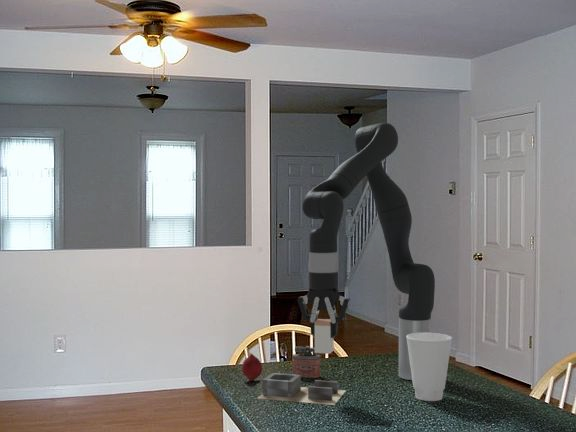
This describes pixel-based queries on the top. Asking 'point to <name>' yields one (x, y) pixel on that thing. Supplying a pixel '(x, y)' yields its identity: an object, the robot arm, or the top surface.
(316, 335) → the plug
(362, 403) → the top surface
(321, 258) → the robot arm
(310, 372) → the lighter
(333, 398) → the panel
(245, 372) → the onion
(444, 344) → the cup
